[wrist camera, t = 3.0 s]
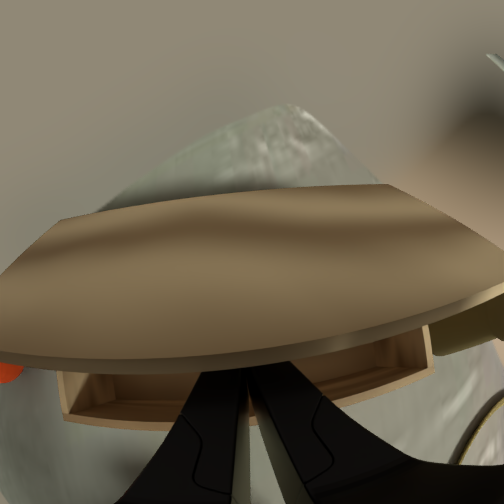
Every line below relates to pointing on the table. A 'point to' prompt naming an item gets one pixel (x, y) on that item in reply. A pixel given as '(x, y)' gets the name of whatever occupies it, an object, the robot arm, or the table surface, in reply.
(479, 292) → the carton flap
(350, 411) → the table surface
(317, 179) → the table surface
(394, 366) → the kraft carton
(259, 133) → the table surface
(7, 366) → the clementine
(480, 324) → the cork
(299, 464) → the robot arm
